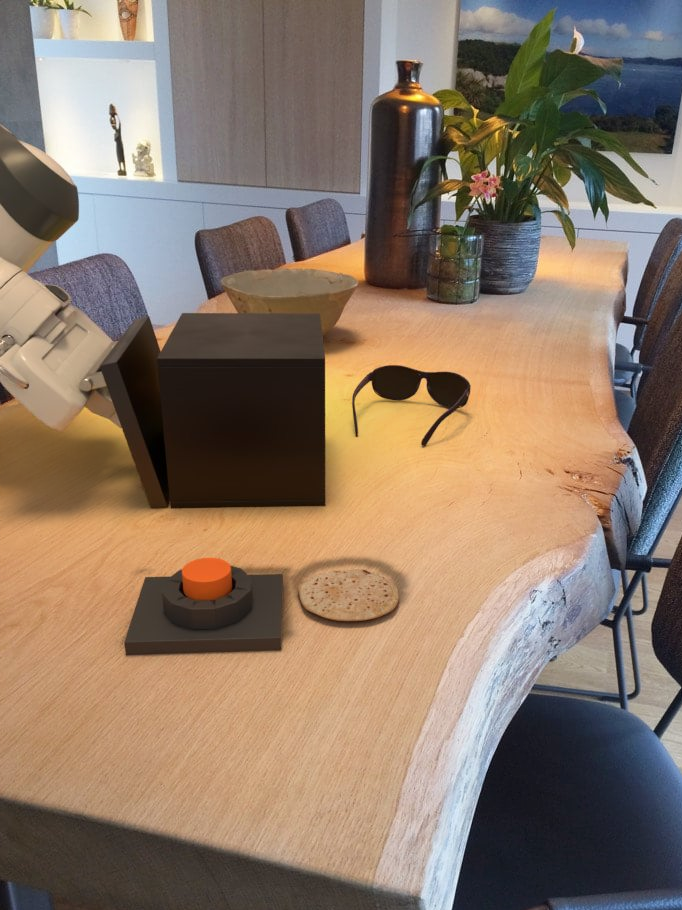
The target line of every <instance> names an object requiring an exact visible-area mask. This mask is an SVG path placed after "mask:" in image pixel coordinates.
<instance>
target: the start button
mask: <svg viewBox="0 0 682 910" xmlns="http://www.w3.org/2000/svg"><path fill="white" fill-rule="evenodd" d="M231 566H232V565H231V564H230V563H229V561H226V560H225V559H222V558H217V557H201V558H196V559H193V560H191V561H189V562H188V563H186V564H184V566H183V567H182V581H183V591H184V594H185V595H186V596H187V597H188V598H191V599H194V600H214V599H218V598H221V597H224V596H227V595H228V594H229V593H230V592H231V590H232V575H231Z"/></svg>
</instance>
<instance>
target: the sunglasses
mask: <svg viewBox="0 0 682 910" xmlns="http://www.w3.org/2000/svg"><path fill="white" fill-rule="evenodd" d="M423 379H424V380H426V391H427V393H428V395H429V396H430V398H431V399H432V400H433V401H434V402H435V403H436V404H438V406H441V407H444V408H448V409H447V410H446V411H445V412H443V413H442V414H441V415H440V416H439V417H438V418H437V419H436V420H435V421H434V423H433V424H432V425H431V426H430V428H429V429H428V430H427V432H426V434H424V436H423V438H422V439H421V442H420V443H421V446H422V447H426V446H427V445H428V443H429V441H430V440H431V438H432V437H433V435H434V433H435V431H436V430H437V429H438V427H439V426H440V424H441V423H443V421H444V420H446V419H447V418H448V417H449V416H450V415H452V414H453V413H455V412H456V411H457V410H458V409H460V408H463V407H465V406H466V405H467V403H468V402H469V397H470V394H471V387H472V385H471V384H470V382H469V380H468V379H467V378H466V377H465V376H463V375H461V374H459V373H457V372H453V371H422V370H418V369H415V368H411V367H409V366H404V365H397V364H388V365H383V366H379V367H376V368H375V369H373V371H371V372H369V373H368V374H366V376H365V377H364V378H363V379H362V380H361V381H360V382H359V383H358V384H357V386H356V387H355V389H354V391H353V393H352V396H351V397H352V399H351V407H352V416H353V417H352V418H353V425H354V433H355V434H354V435H355V437H358V436H359V425H358V417H357V411H356V397H357V396H358V394H359V393H360V392H361V390H362V389H363V388H364V387H365V386H367V385H368V384H369V383H370V382H371V387H372V390H373V392H374V393H375V395H377V396H378V397H380V398H382V399H385V400H390V401H396V402H397V401H399V402H400V401H405V400H408V399H411V398H412V397H414V396H415V395H416V394H417V393H418V391H419V389H420V386H421V383H422V380H423Z"/></svg>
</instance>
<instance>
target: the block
mask: <svg viewBox="0 0 682 910" xmlns="http://www.w3.org/2000/svg"><path fill="white" fill-rule="evenodd" d="M230 566H231V575H232V590H231V592H230V593H229V594H228V595H227V596H224V597H221V598H218V599H214V600H194V599H191V598H188V597H187V596H186V595H185V594H184V591H183V581H182V569H183V568H182V569H179V570H178V571H176V572H175V573H174V574H172V575H169V576H145V577H144V580H143V583H142V586H141V589H140V592H139V595H138V597H137V601H136V604H135V608H134V611H133V613H132V617H131V620H130V623H129V625H128V626H129V627H128V629H127V633H126V636H125V638H124V641H123V642H124V643H123V644H124V652H125V656H146V655H148V656H149V655H176V654H177V655H179V654H181V655H182V654H210V653H211V654H214V653H240V652H241V653H243V652H249V653H250V652H275V651H280V652H281V651H282V644H283V609H284V608H283V607H284V574H283V573H264V574H263V573H261V574H259V573H258V574H248V573H247V572H245V571H244V569H242V568H241V567H237V566H234V565H230Z"/></svg>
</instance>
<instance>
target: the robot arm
mask: <svg viewBox="0 0 682 910" xmlns="http://www.w3.org/2000/svg"><path fill="white" fill-rule="evenodd" d="M79 219H80V198H79V191H78V186H77V185H76V184H75V182H74V181H73V179H72V177H71V176H70V175H69V174H68V172H67V171H66V170H65V169H64V167H62V165H61V164H60V163H58V162H57V161H56V160H55V159H54V158H52V156H50V155H48V154H47V153H46V152H44V151H43V150H41V149H40V148H38V147H36V146H34V145H32V144H29V143H27V142H24V141H22V140H21V139H19V138H18V137H17V136H16V135H15V134H13V133H12V132H11V131H10V130H9V129H8V128H6V127H5V126H4V125H2V124H1V123H0V383H1V385H2V386H3V388H4V389H5V390H6V391H7V392H8V393H9V394H10V395H11V396H12V397H13V398H14V399H16V400H17V401H18V403H20V404H21V405H22V406H23V407H24V408H25V409H26V410H28V412H30V413H31V414H32V415H33V416H34V417H35V418H36V419H38V420H39V421H40V422H41V423H42V424H43V425H45V426H46V427H48V428H50V429H52V430H55V431H58V432H63V431H64V430H65V429H66V428H67V427H68V426H69V425H70V424H71V423H72V422H73V421H74V420H75V419H76V417H77V416H79V414H80V413H81V412H82V411H83V410H84V408H86V409H87V410H88V411H89V412H90V413H92V414H95V415H97V416H98V417H102V418H104V419H107V420H109V421H110V422H112V423H113V424H114V425H116V427H118V428H119V429H122V427H121V424H120V422H119V419H118V416H117V413H116V411H115V408H114V405H113V402H112V400H111V397H110V394H109V391H108V388H107V386H105V387H100V388H96V389H91V390H90V391H87V392H86V391H82V390H81V389H80V388H79V382H80V380H81V379H82V378H83V377H84V375H85V374H86V373H87V372H88V370H89V369H90V368H91V366H92V365H93V364H94V363H95V361H96V360H97V359H98V358H99V356H100V355H101V354H102V353H103V351H104V350H105V349H106V347H107V346H108V345H109V344H110V343H111V342H114V340H113V339H111V337H110V336H109V335H108V334H107V333H106V332H105V331H103V330H102V328H100V326H98V325H97V324H96V322H94V321H93V320H92V318H90V317H89V316H88V315H87V314H86V313H85V312H83V311H82V310H81V309H80V308H78V307H77V306H75V305H72V304H70V303H71V301H72V296H71V295H70V294H69V293H68V292H67V291H66V290H65V289H63V288H62V287H61V286H59V285H57V284H50V283H43V282H41V281H39V280H36V279H34V278H33V277H31V276H30V274H28V272H29V271H30V270H31V269H32V268H33V266H34V265H35V264H36V263H37V262H38V261H39V260H40V258H41V257H42V256H43V255H44V254H45V253H46V251H47V250H48V249H49V248H50V247H51V246H52V245H53V244H54V242H56V241H58V240H59V239H60V238H61V237H62V236H64V234H65V233H67V232H68V231H69V230H70V229H71V228H72V227H73V226H74V225H75V224H76V223H77V222H78V221H79Z"/></svg>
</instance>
